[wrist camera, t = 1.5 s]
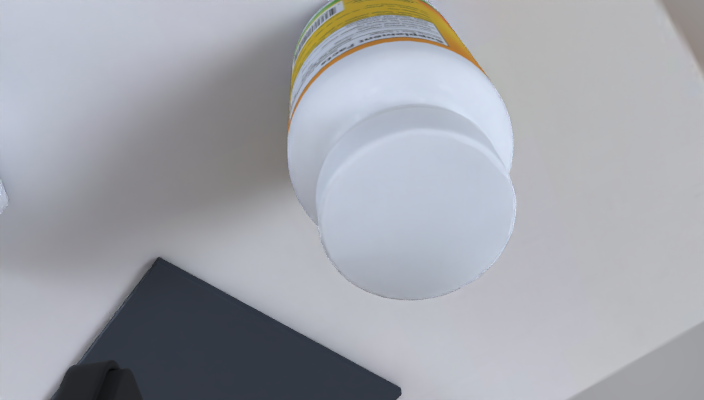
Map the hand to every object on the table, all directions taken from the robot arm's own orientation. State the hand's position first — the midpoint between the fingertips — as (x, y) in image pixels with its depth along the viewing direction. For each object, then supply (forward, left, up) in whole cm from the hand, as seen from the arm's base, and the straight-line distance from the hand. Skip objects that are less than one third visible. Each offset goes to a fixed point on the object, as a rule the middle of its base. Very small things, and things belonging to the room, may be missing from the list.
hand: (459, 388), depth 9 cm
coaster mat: (+8, -14, -14) cm, 21 cm away
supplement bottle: (0, 0, -14) cm, 14 cm away
